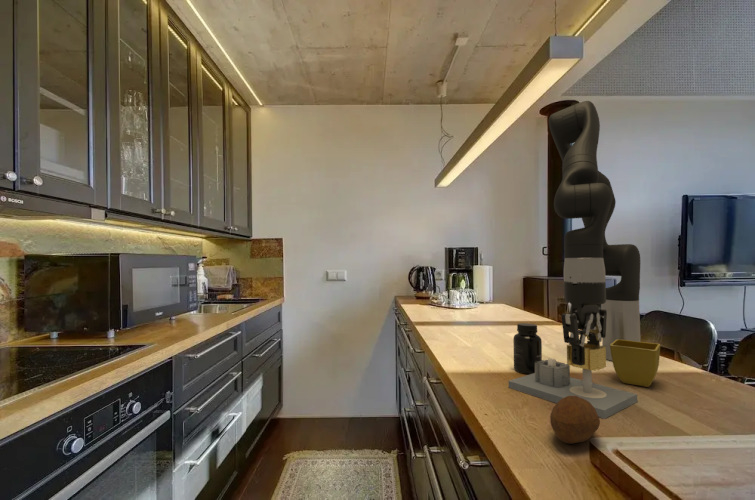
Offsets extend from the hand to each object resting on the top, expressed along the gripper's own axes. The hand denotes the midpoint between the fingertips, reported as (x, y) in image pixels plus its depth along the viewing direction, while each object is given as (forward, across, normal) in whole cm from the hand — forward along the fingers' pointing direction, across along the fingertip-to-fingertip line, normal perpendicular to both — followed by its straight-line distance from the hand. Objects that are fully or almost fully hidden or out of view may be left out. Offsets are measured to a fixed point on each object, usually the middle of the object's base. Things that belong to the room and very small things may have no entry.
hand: (586, 361), depth 74 cm
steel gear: (+6, 0, -7) cm, 10 cm away
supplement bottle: (+8, -8, -19) cm, 22 cm away
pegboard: (+8, 0, -4) cm, 9 cm away
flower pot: (+8, -20, +1) cm, 22 cm away
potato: (+8, +19, +7) cm, 22 cm away
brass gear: (+1, 0, 0) cm, 1 cm away
